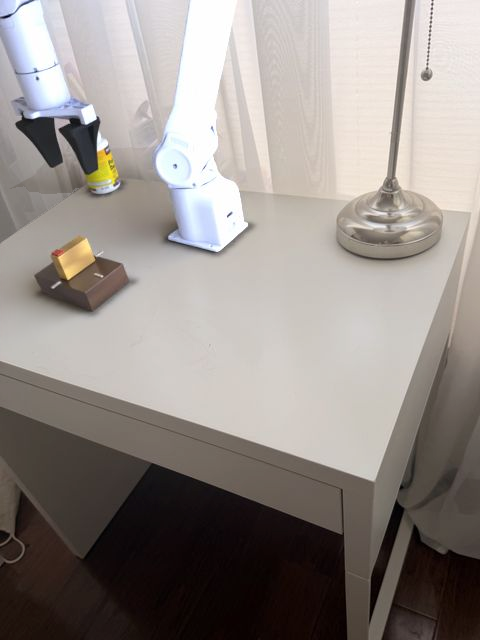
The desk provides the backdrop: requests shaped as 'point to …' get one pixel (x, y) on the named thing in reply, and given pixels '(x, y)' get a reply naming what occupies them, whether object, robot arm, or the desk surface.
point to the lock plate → (85, 283)
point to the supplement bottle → (103, 170)
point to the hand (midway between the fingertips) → (74, 168)
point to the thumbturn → (72, 257)
